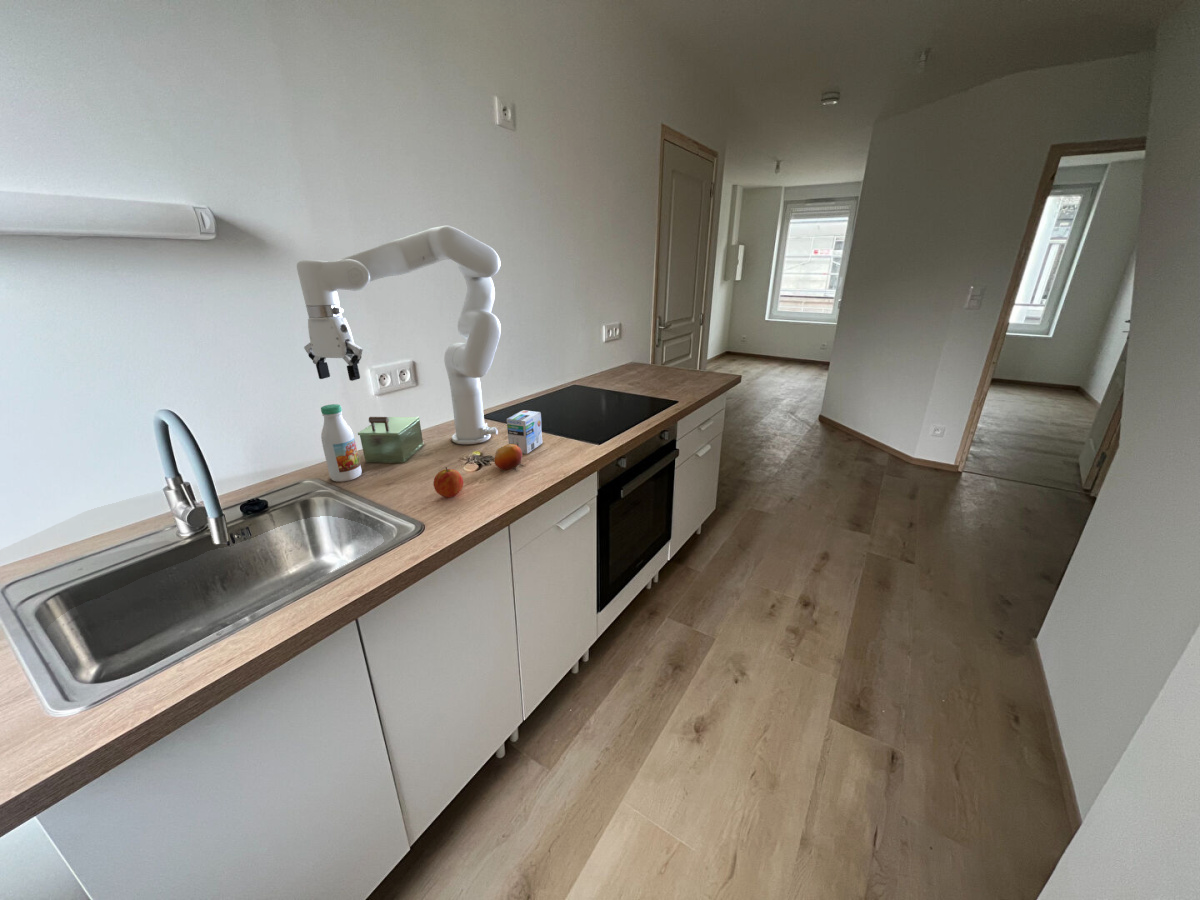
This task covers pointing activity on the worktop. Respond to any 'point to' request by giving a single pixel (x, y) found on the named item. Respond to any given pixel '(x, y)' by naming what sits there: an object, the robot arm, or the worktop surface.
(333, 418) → the milk bottle
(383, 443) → the bread bin
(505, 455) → the fruit
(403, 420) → the lid
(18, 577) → the worktop surface
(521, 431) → the light bulb box
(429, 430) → the worktop surface
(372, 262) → the robot arm
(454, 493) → the fruit
